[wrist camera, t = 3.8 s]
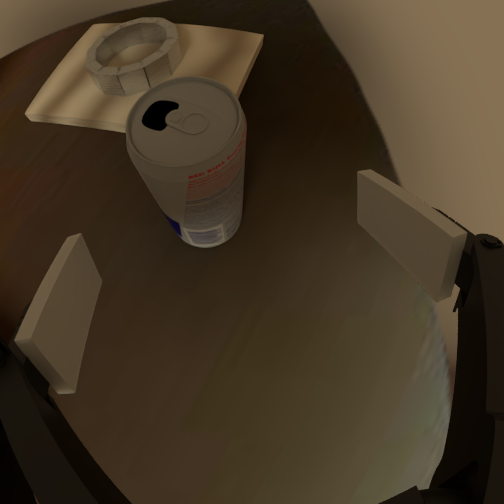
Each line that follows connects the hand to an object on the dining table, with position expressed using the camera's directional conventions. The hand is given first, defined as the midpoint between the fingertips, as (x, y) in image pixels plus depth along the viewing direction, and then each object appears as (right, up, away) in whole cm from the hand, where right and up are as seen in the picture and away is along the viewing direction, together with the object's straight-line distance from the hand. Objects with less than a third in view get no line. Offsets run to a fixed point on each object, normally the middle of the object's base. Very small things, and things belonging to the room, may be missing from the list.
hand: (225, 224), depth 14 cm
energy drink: (-2, +2, +10) cm, 10 cm away
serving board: (-10, +17, +13) cm, 24 cm away
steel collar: (-10, +17, +11) cm, 23 cm away
